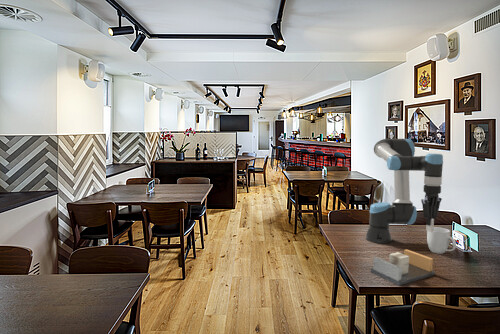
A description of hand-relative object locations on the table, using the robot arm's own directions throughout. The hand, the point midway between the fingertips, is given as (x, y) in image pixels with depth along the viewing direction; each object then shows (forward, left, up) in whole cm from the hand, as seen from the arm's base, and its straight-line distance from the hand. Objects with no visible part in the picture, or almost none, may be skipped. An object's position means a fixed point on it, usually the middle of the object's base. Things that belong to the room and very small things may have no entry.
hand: (429, 231), depth 161 cm
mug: (-9, +24, -18) cm, 32 cm away
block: (0, -22, -17) cm, 27 cm away
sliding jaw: (0, -8, -17) cm, 18 cm away
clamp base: (0, -19, -18) cm, 26 cm away
